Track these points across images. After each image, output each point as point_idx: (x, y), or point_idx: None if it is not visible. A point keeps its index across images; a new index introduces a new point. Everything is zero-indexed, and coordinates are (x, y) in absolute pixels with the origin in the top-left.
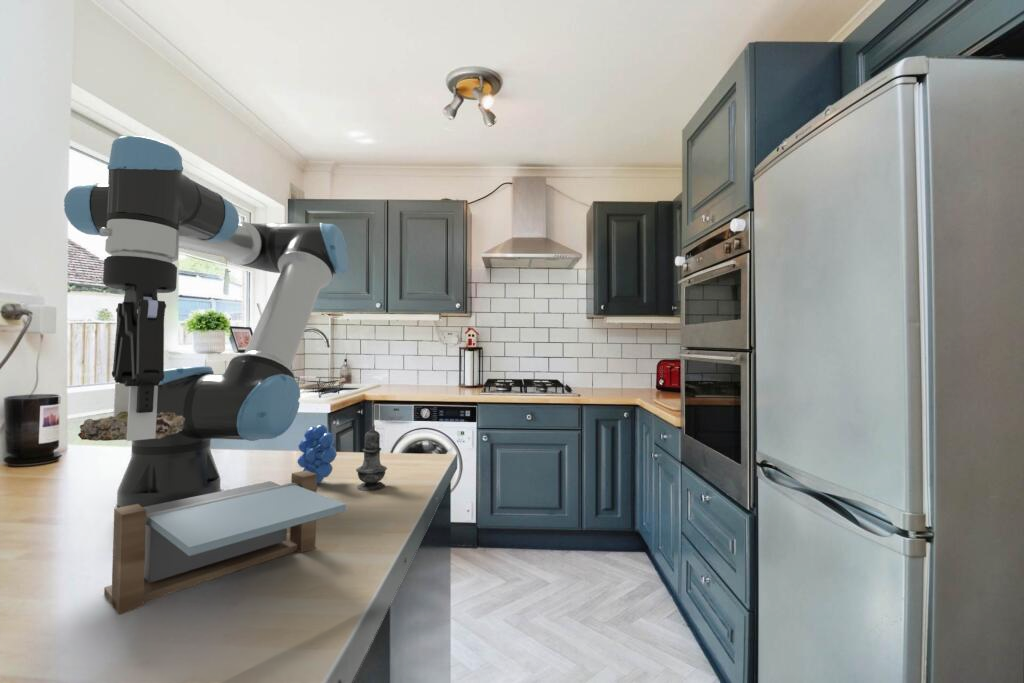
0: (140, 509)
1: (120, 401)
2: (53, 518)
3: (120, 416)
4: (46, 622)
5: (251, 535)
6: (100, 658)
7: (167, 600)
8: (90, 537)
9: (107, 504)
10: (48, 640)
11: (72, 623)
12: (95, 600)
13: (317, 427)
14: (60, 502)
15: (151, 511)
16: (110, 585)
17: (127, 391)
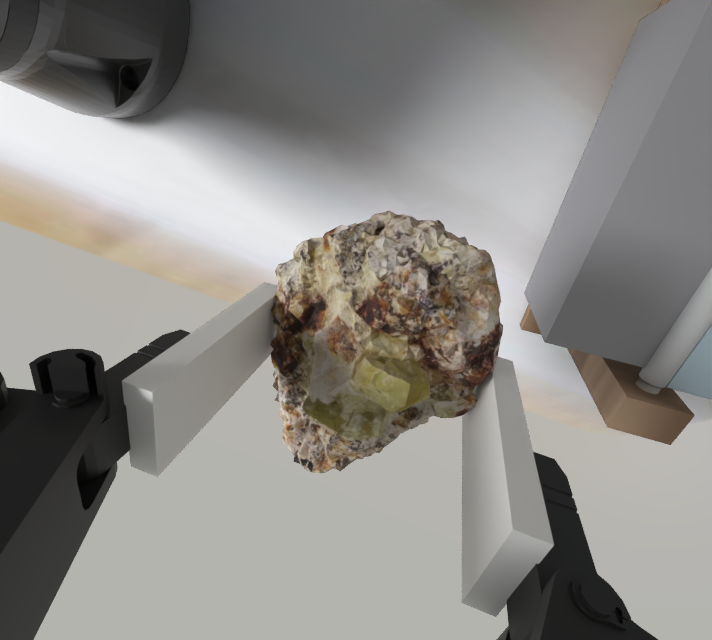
0: (676, 417)
1: (214, 402)
2: (117, 214)
3: (362, 433)
4: (526, 382)
5: None
6: (686, 402)
7: None
8: (262, 227)
9: (80, 121)
10: (576, 400)
11: (561, 374)
12: (524, 336)
13: None
14: (22, 167)
15: (599, 343)
16: (523, 323)
17: (184, 413)
